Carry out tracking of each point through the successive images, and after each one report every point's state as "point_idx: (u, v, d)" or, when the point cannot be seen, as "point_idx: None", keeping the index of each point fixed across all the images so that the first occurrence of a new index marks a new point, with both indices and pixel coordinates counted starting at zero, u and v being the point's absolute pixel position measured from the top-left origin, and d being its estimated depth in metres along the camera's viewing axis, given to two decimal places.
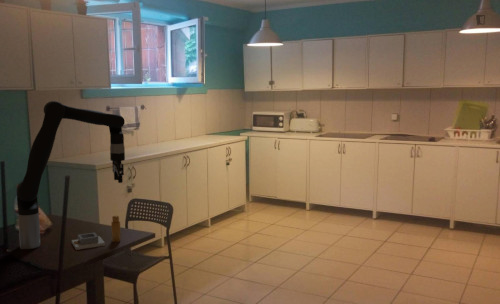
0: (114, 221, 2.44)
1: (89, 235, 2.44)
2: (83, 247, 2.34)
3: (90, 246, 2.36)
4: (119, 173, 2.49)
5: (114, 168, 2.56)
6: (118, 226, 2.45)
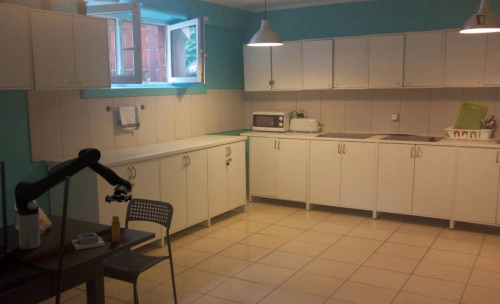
0: (114, 221, 2.44)
1: (89, 235, 2.44)
2: (83, 247, 2.34)
3: (90, 246, 2.36)
4: (131, 196, 2.62)
5: (114, 195, 2.62)
6: (118, 226, 2.45)
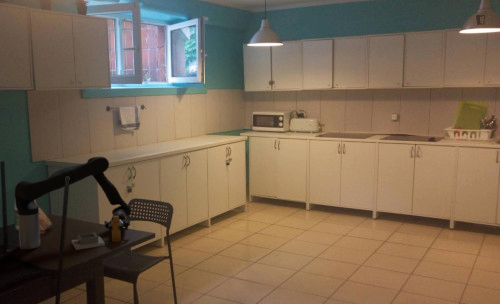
0: (114, 221, 2.44)
1: (89, 235, 2.44)
2: (83, 247, 2.34)
3: (90, 246, 2.36)
4: (126, 222, 2.49)
5: None
6: (118, 226, 2.45)
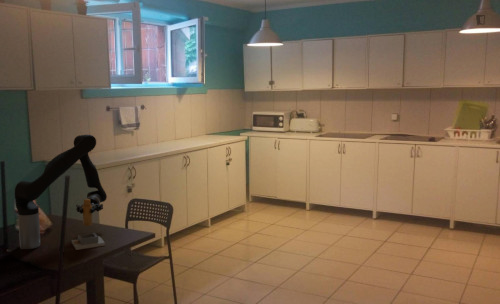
0: (85, 204, 2.37)
1: (89, 235, 2.44)
2: (83, 247, 2.34)
3: (90, 246, 2.36)
4: (99, 206, 2.42)
5: None
6: (89, 209, 2.37)
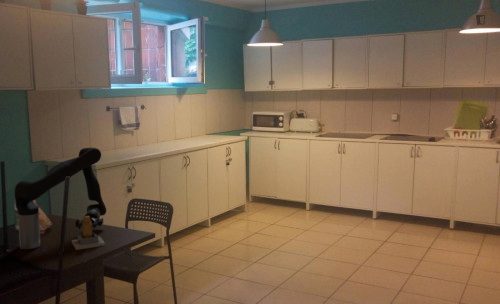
0: (85, 221, 2.38)
1: None
2: (83, 247, 2.34)
3: (90, 246, 2.36)
4: (101, 221, 2.44)
5: None
6: (89, 226, 2.38)
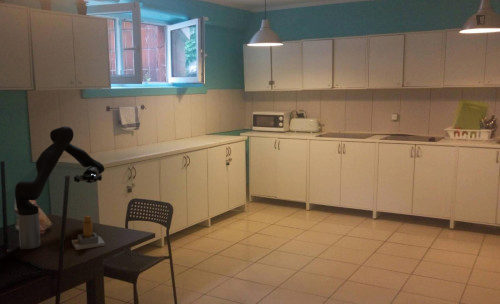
0: (86, 221, 2.38)
1: None
2: (83, 247, 2.34)
3: (90, 246, 2.36)
4: (101, 176, 2.60)
5: (84, 175, 2.60)
6: (90, 226, 2.38)
